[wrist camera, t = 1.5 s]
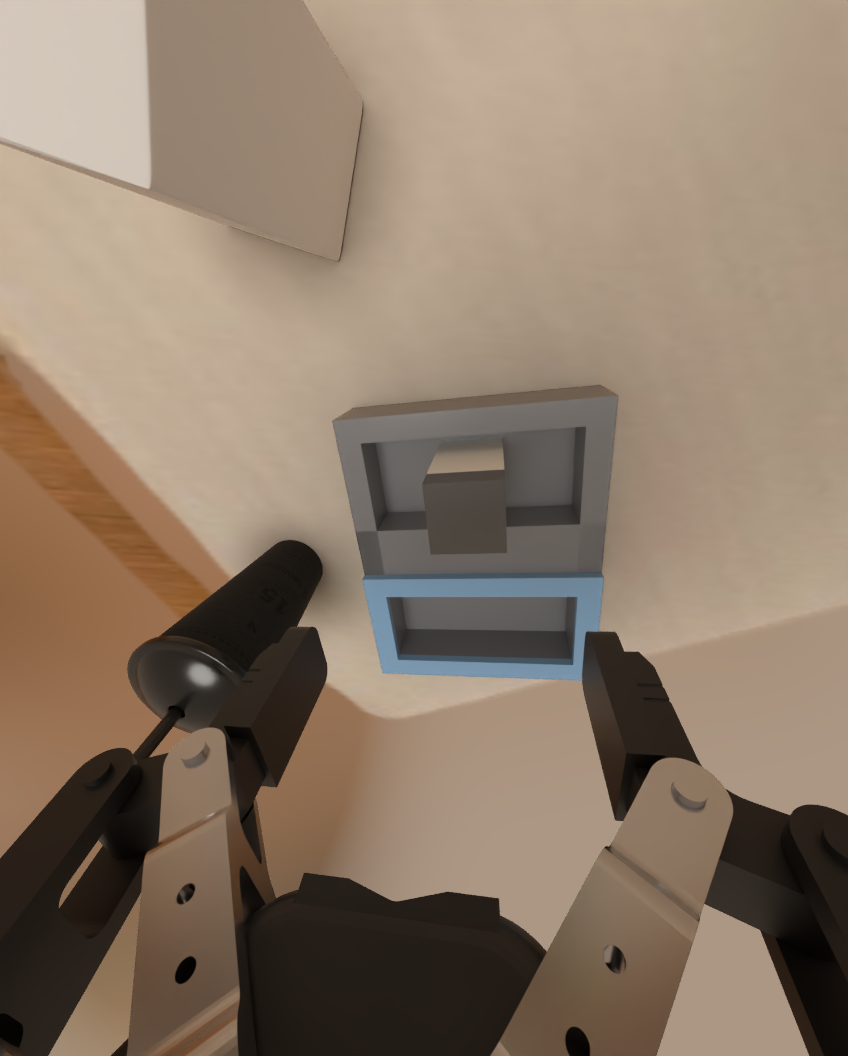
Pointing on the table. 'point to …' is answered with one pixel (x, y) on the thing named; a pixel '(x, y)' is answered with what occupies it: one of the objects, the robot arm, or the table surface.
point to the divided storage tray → (495, 578)
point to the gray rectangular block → (466, 498)
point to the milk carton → (189, 107)
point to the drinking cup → (221, 641)
